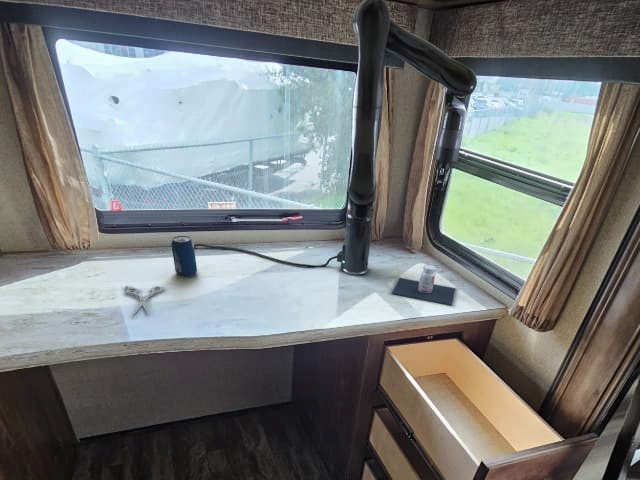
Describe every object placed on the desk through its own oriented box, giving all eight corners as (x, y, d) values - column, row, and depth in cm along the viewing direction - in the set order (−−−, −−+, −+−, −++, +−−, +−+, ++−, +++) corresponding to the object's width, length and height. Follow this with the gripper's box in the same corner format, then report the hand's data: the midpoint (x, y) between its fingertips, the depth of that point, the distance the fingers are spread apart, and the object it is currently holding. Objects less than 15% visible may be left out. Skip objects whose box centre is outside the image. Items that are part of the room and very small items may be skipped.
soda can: (199, 270, 149) (195, 235, 141) (194, 278, 143) (190, 243, 136) (179, 269, 148) (173, 234, 141) (173, 277, 143) (167, 241, 135)
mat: (391, 294, 144) (392, 292, 144) (399, 278, 155) (399, 277, 155) (451, 305, 141) (451, 304, 140) (455, 289, 151) (455, 288, 151)
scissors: (162, 283, 136) (160, 312, 121) (162, 286, 137) (160, 315, 122) (125, 285, 133) (119, 315, 118) (126, 288, 134) (120, 318, 119)
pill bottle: (431, 294, 146) (436, 270, 141) (417, 292, 146) (422, 268, 141) (431, 288, 149) (437, 265, 144) (418, 286, 150) (422, 263, 145)
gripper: (439, 141, 144) (429, 192, 154) (434, 146, 133) (424, 201, 143) (462, 143, 143) (450, 195, 152) (458, 149, 132) (446, 204, 141)
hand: (438, 198), depth 148 cm, fingers open, 8 cm apart
